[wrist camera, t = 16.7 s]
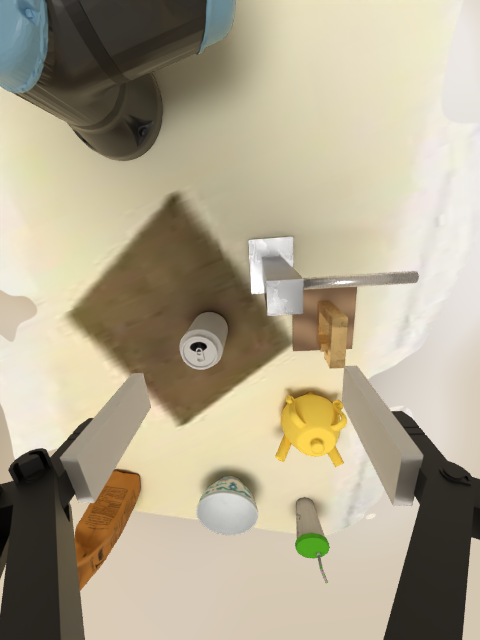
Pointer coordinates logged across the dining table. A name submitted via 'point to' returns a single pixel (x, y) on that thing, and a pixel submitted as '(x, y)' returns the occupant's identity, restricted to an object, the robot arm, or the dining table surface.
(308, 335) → the walnut board
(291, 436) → the teapot
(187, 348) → the can
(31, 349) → the dining table surface
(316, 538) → the cup
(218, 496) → the chinaware
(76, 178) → the dining table surface
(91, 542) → the coffee package
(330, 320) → the c link
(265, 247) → the stand
